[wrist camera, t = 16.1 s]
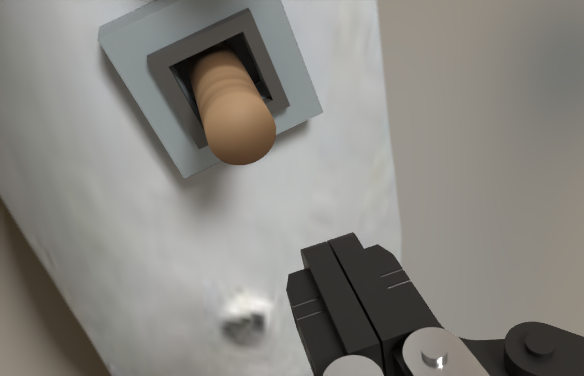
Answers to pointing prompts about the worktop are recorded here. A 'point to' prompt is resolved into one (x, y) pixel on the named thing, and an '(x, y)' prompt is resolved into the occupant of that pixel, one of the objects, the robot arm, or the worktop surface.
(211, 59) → the dowel
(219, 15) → the socket
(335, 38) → the worktop surface
